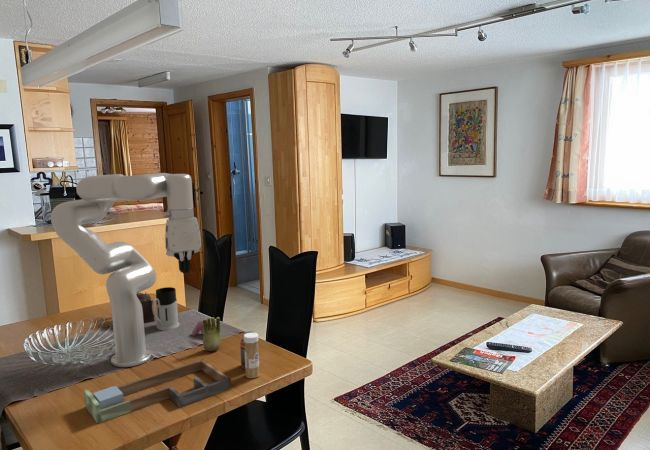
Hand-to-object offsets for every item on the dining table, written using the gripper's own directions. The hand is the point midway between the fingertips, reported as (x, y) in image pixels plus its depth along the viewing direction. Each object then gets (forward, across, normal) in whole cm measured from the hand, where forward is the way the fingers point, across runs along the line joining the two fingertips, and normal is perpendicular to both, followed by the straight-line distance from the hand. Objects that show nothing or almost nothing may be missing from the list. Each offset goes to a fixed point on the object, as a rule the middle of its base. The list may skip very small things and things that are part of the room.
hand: (184, 272), depth 153 cm
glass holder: (+32, +8, +40) cm, 52 cm away
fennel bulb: (+32, +12, +8) cm, 35 cm away
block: (+32, -28, -8) cm, 44 cm away
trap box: (+32, -15, -11) cm, 37 cm away
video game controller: (+32, +17, +22) cm, 43 cm away
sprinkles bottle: (+32, +12, -18) cm, 39 cm away
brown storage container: (+32, +5, +59) cm, 67 cm away
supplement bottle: (+32, +15, -12) cm, 38 cm away
